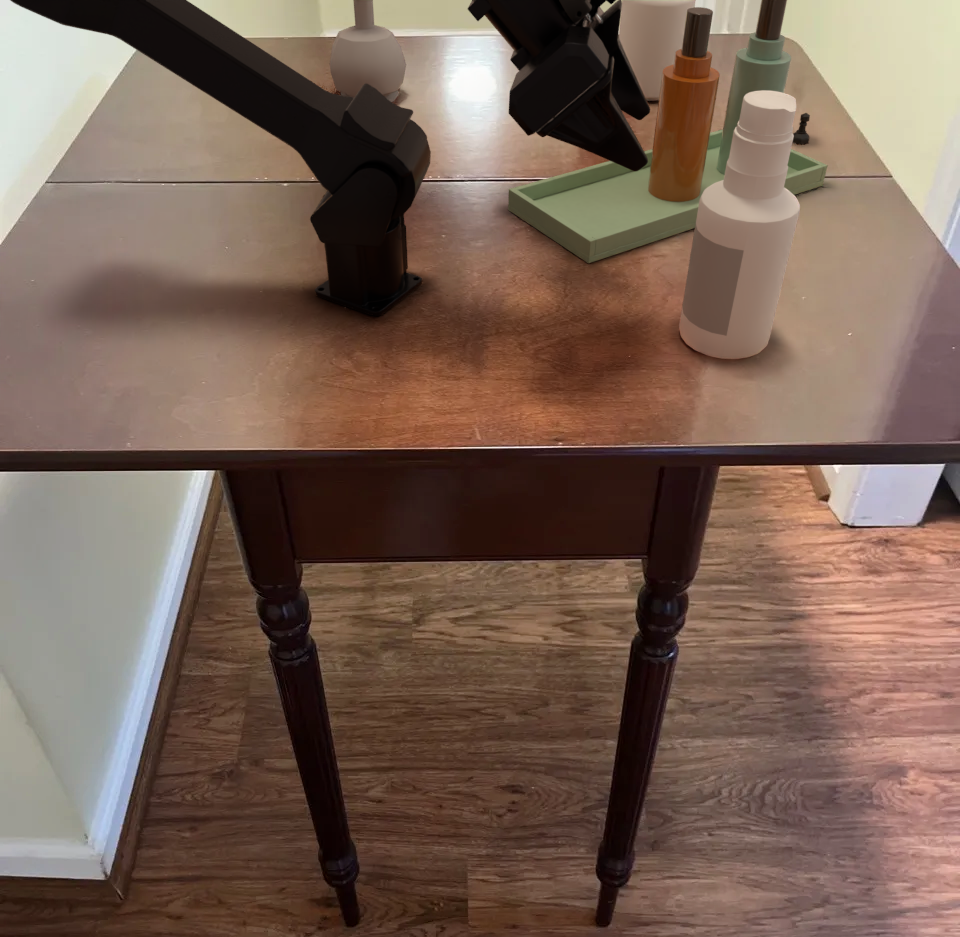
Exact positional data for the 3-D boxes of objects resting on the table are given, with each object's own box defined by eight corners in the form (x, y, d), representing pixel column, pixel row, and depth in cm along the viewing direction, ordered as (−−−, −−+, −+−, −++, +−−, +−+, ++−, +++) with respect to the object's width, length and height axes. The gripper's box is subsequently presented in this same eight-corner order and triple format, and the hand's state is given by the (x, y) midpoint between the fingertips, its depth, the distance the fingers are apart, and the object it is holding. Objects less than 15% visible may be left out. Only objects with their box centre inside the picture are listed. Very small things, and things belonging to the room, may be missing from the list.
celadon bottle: (757, 184, 93) (793, 6, 82) (708, 172, 95) (738, -3, 84) (774, 166, 96) (811, -8, 86) (727, 155, 98) (757, -16, 88)
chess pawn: (813, 140, 103) (819, 112, 101) (803, 146, 102) (809, 117, 100) (796, 135, 104) (803, 107, 102) (786, 140, 103) (792, 112, 101)
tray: (588, 263, 82) (590, 241, 81) (507, 210, 90) (508, 188, 88) (822, 185, 94) (828, 165, 93) (734, 144, 102) (737, 124, 101)
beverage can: (629, 106, 110) (641, -7, 102) (603, 82, 116) (613, -26, 108) (693, 100, 112) (710, -12, 104) (665, 77, 118) (679, -31, 110)
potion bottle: (404, 109, 109) (396, -69, 97) (326, 108, 109) (308, -70, 97) (410, 83, 116) (403, -87, 104) (336, 81, 116) (321, -88, 104)
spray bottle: (697, 304, 77) (737, 74, 65) (780, 328, 74) (837, 93, 63) (664, 344, 73) (701, 105, 61) (751, 371, 70) (807, 127, 58)
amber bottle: (688, 206, 89) (717, 22, 79) (639, 193, 91) (660, 13, 81) (708, 187, 92) (738, 8, 82) (660, 175, 94) (684, -1, 84)
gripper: (583, -117, 50) (752, 114, 56) (602, -169, 64) (736, 21, 70) (433, 31, 55) (602, 226, 62) (481, -46, 69) (614, 119, 76)
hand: (643, 139), depth 67 cm, fingers open, 9 cm apart
